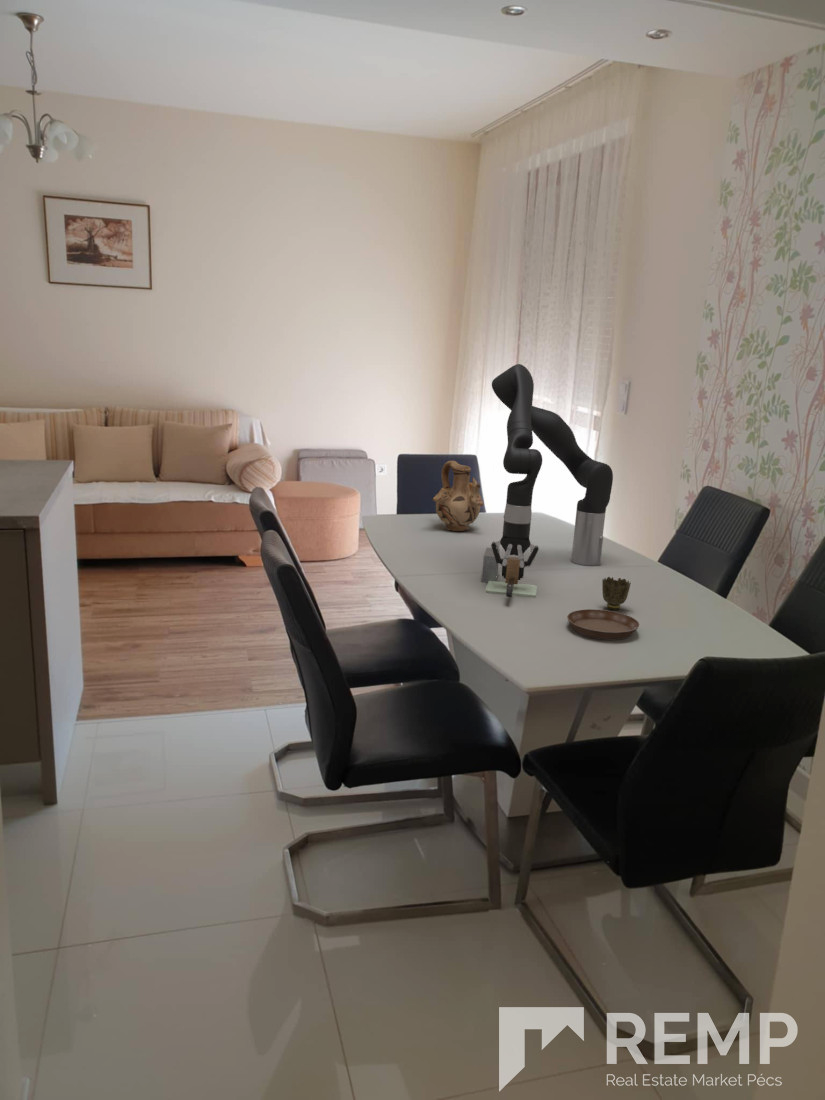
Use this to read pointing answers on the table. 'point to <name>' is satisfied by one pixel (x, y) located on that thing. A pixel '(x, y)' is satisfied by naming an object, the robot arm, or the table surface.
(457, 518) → the ceramic vessel
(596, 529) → the robot arm
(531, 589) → the mat
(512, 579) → the wooden head mallet
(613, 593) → the cup
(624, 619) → the plant saucer
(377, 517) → the table surface
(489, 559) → the slotted metal block
